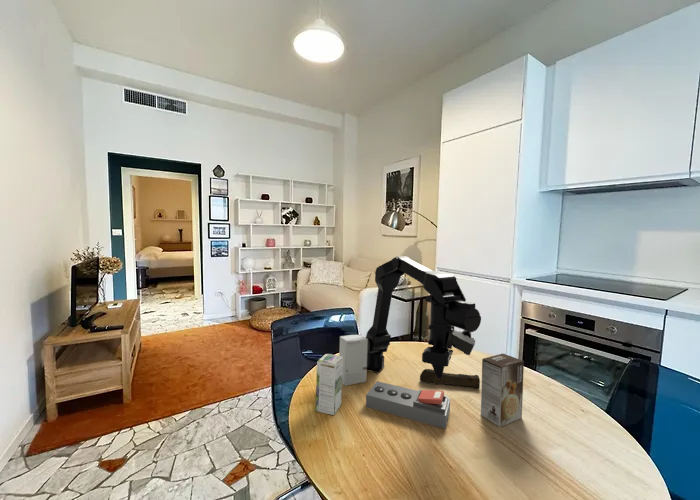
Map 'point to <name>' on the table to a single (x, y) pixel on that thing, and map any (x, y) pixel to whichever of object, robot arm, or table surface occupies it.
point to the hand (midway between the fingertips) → (439, 377)
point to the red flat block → (431, 396)
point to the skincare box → (353, 358)
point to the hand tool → (450, 378)
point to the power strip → (407, 404)
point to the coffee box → (502, 389)
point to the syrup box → (329, 384)
